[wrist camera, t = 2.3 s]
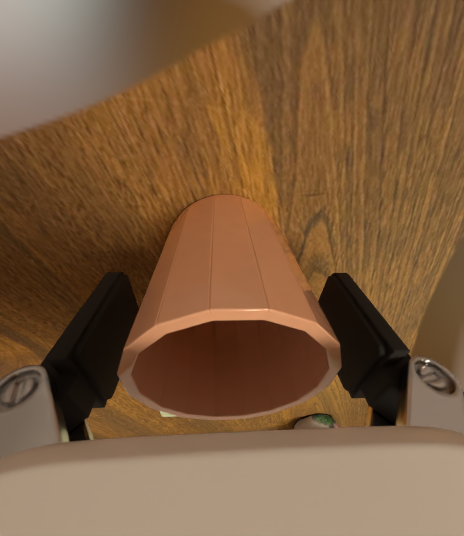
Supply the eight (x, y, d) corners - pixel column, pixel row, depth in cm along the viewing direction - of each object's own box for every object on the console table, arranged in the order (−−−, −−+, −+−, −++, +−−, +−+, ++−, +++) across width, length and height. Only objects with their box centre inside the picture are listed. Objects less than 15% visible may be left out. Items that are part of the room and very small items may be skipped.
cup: (161, 192, 11) (78, 311, 4) (289, 195, 11) (384, 307, 5) (176, 289, 15) (145, 423, 8) (270, 288, 15) (307, 416, 9)
